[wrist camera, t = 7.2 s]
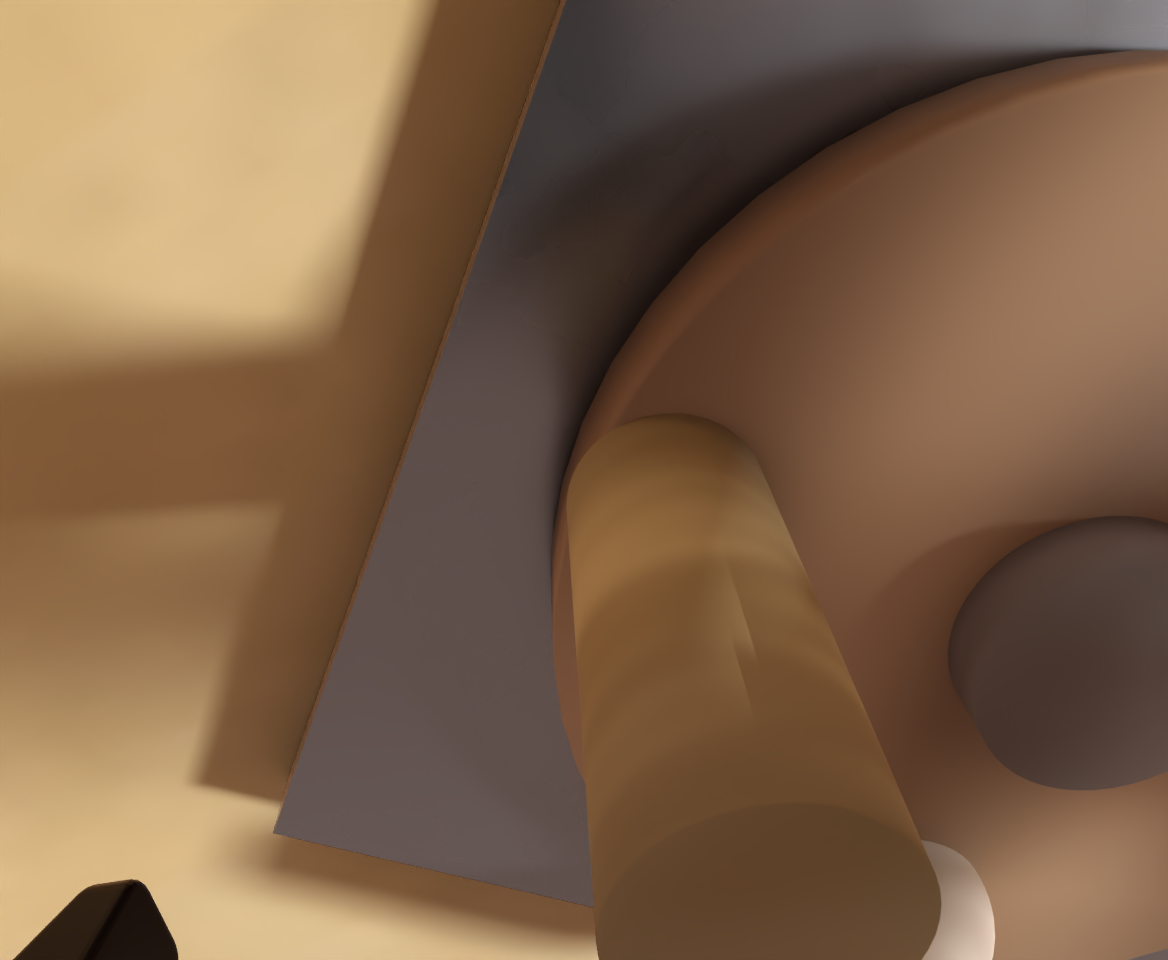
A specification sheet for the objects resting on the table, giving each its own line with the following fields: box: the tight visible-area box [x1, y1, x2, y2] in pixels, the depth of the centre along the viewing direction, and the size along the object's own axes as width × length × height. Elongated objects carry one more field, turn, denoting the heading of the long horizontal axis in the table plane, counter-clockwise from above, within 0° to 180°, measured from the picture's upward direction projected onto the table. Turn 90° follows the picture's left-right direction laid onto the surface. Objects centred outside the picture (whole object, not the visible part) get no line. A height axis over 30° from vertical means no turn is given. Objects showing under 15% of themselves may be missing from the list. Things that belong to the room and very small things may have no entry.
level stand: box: [273, 0, 1168, 960], centre depth 14 cm, size 18×18×5 cm
